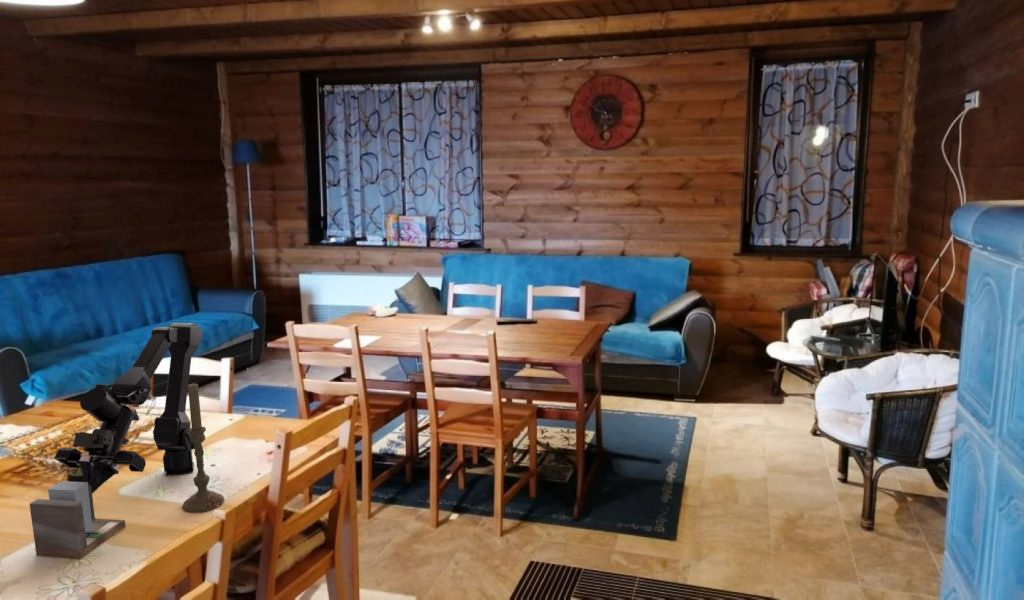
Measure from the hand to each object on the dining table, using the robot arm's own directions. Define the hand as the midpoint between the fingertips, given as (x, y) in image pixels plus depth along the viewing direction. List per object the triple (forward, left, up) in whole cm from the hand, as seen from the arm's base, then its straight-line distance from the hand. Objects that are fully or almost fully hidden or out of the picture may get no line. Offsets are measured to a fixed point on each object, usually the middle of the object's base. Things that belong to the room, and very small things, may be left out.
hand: (84, 497), depth 159 cm
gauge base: (+1, +3, -8) cm, 9 cm away
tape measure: (+5, -30, -9) cm, 32 cm away
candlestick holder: (-23, -6, -9) cm, 25 cm away
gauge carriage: (+1, +4, -6) cm, 8 cm away
